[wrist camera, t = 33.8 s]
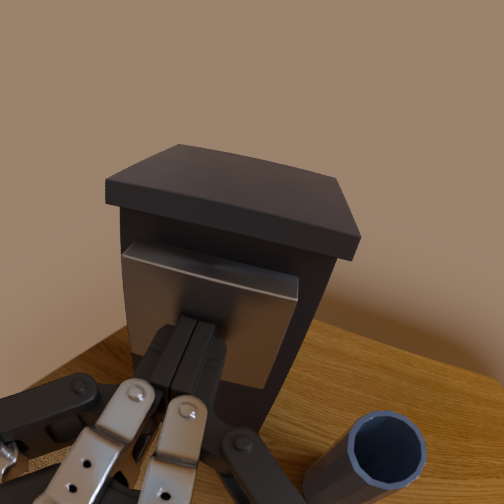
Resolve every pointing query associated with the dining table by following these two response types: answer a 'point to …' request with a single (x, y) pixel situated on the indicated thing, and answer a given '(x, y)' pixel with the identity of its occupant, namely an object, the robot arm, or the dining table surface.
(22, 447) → the robot arm
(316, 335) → the dining table surface
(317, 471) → the cup
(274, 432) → the dining table surface
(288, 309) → the plate
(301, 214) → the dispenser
